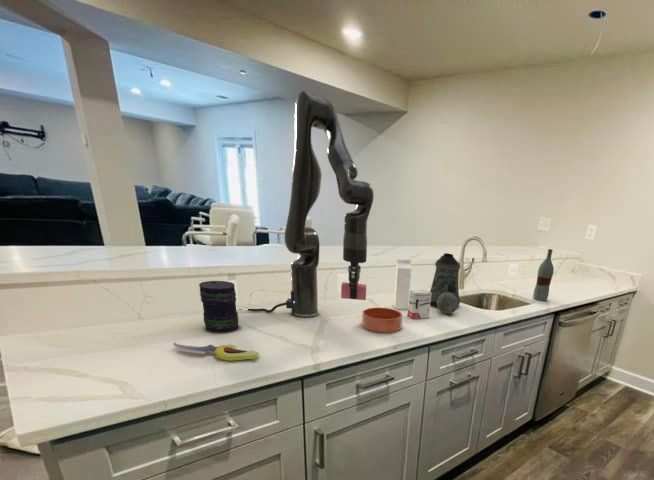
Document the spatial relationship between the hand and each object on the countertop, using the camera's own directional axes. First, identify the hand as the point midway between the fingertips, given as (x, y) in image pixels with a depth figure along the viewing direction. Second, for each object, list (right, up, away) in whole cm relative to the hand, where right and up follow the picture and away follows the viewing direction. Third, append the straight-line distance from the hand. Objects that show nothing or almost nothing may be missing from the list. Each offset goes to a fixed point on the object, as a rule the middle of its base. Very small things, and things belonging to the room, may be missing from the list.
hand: (353, 296), depth 133 cm
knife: (-34, -21, -22) cm, 46 cm away
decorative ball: (+30, 0, +47) cm, 56 cm away
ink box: (+18, -3, +37) cm, 41 cm away
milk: (+9, +3, +47) cm, 48 cm away
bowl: (+6, -9, +19) cm, 21 cm away
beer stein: (+27, +6, +62) cm, 67 cm away
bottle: (+85, +15, +102) cm, 134 cm away
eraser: (0, 0, 0) cm, 0 cm away
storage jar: (-43, -11, -4) cm, 45 cm away
